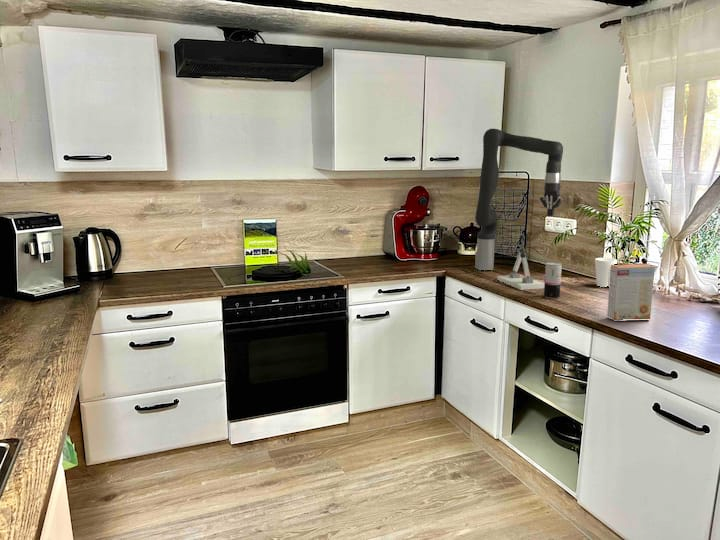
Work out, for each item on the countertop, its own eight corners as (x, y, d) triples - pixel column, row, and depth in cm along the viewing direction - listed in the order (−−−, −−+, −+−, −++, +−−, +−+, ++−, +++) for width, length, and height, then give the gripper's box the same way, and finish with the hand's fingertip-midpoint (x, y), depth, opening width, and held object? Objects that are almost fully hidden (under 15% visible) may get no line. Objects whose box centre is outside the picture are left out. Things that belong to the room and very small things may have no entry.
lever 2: (529, 276, 260) (523, 251, 257) (532, 277, 257) (526, 252, 254) (523, 278, 259) (518, 253, 256) (527, 279, 257) (521, 253, 253)
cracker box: (641, 316, 208) (646, 263, 204) (650, 321, 203) (656, 266, 198) (605, 317, 208) (610, 263, 204) (613, 322, 202) (618, 267, 198)
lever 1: (515, 273, 271) (524, 248, 270) (518, 274, 269) (527, 249, 267) (510, 271, 271) (519, 247, 269) (513, 272, 268) (522, 247, 267)
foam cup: (592, 287, 256) (594, 260, 254) (594, 283, 264) (596, 257, 262) (614, 289, 252) (616, 261, 249) (615, 285, 260) (617, 258, 257)
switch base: (520, 278, 277) (520, 270, 276) (545, 288, 256) (545, 279, 255) (497, 280, 274) (497, 272, 273) (520, 289, 253) (521, 281, 252)
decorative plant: (298, 267, 314) (297, 241, 312) (312, 276, 287) (311, 249, 284) (267, 269, 308) (266, 243, 306) (278, 279, 281) (277, 251, 278)
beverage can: (540, 296, 240) (542, 263, 237) (549, 294, 244) (551, 261, 241) (553, 299, 235) (555, 265, 232) (562, 297, 239) (564, 263, 236)
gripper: (536, 181, 278) (534, 215, 281) (559, 182, 267) (556, 217, 271) (546, 181, 282) (544, 214, 285) (568, 182, 271) (566, 216, 275)
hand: (550, 216), depth 278 cm, fingers closed
